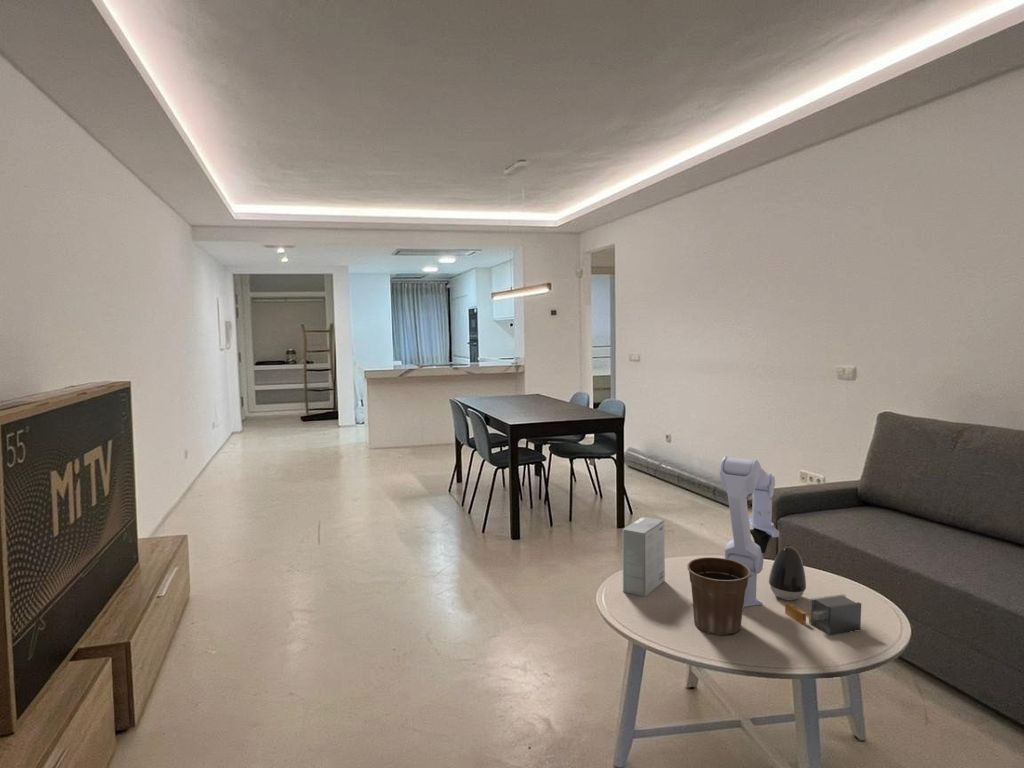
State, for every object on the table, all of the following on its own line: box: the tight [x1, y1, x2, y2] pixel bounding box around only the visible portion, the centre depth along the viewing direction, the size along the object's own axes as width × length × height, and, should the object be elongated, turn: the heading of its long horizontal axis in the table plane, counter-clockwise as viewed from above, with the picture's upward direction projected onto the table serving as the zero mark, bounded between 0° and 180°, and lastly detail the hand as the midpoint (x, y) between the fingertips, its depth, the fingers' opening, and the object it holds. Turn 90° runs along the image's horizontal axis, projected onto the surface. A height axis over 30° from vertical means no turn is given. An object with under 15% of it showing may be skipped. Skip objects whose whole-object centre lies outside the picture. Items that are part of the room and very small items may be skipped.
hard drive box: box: [622, 516, 666, 598], centre depth 201 cm, size 16×8×20 cm, turn 144°
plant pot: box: [686, 556, 750, 636], centre depth 174 cm, size 16×16×16 cm
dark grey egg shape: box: [768, 544, 807, 601], centre depth 192 cm, size 10×10×15 cm
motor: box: [784, 593, 862, 636], centre depth 177 cm, size 15×14×7 cm
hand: (760, 552), depth 204 cm, fingers closed
